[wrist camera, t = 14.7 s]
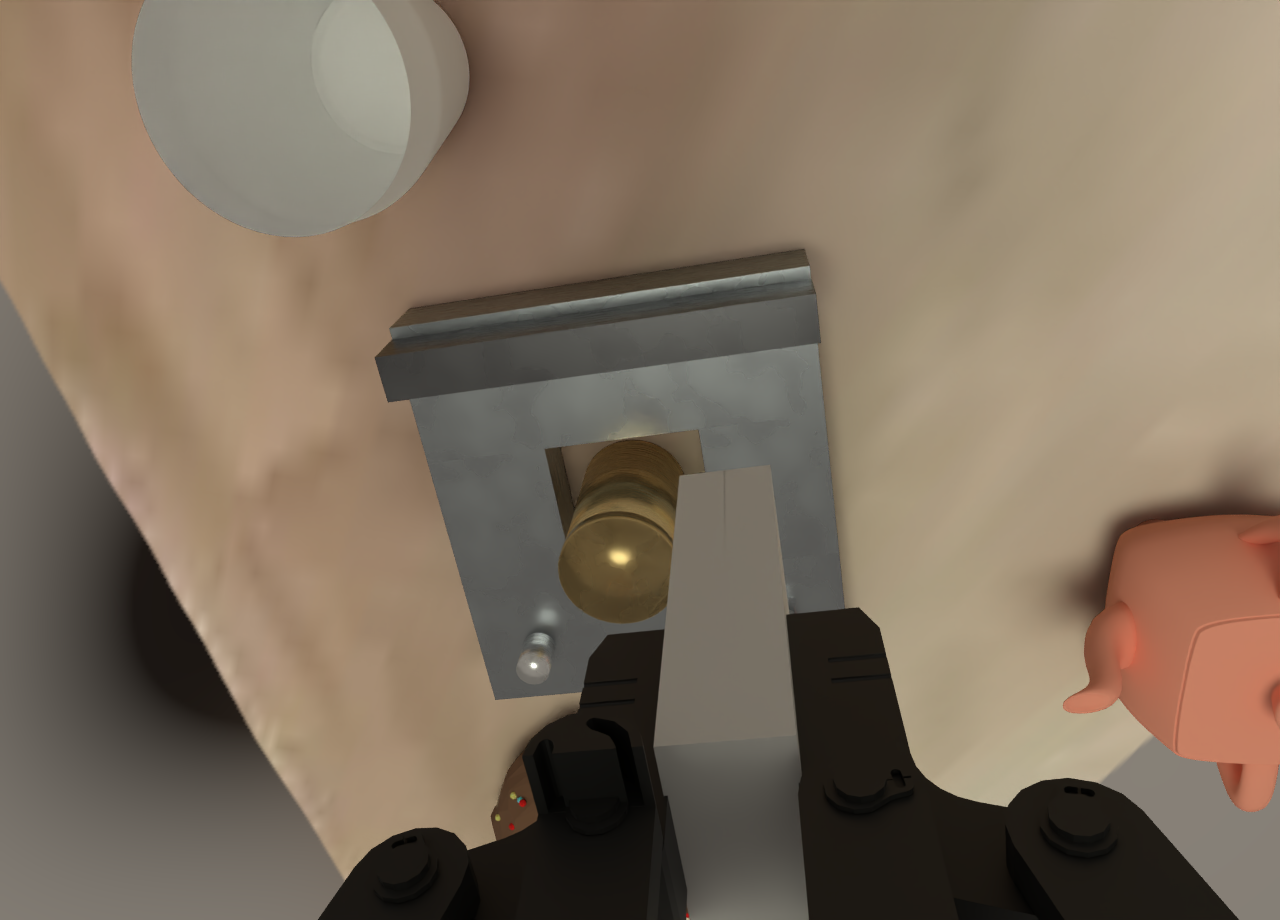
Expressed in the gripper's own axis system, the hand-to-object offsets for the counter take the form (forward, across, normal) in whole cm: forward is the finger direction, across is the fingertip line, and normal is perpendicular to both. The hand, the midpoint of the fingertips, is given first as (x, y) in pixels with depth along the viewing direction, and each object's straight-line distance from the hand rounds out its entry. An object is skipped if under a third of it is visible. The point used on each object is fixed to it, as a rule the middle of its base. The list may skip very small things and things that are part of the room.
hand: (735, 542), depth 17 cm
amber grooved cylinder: (+28, -6, -12) cm, 32 cm away
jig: (+28, -6, -12) cm, 31 cm away
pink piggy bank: (+29, +20, -21) cm, 41 cm away
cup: (+29, -13, +8) cm, 32 cm away
